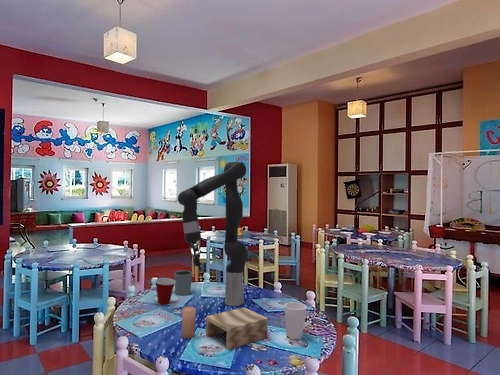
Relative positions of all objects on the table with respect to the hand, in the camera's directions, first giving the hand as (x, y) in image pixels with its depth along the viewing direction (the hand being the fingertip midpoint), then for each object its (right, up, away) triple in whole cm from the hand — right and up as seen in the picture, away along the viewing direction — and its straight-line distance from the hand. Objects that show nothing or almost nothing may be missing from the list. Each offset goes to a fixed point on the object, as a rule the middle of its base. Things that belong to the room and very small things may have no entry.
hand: (197, 265), depth 169 cm
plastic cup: (-20, -24, +18) cm, 36 cm away
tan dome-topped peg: (-1, -24, -21) cm, 32 cm away
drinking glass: (-14, -24, +36) cm, 45 cm away
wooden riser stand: (+19, -25, -20) cm, 37 cm away
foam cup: (+44, -26, -18) cm, 54 cm away
